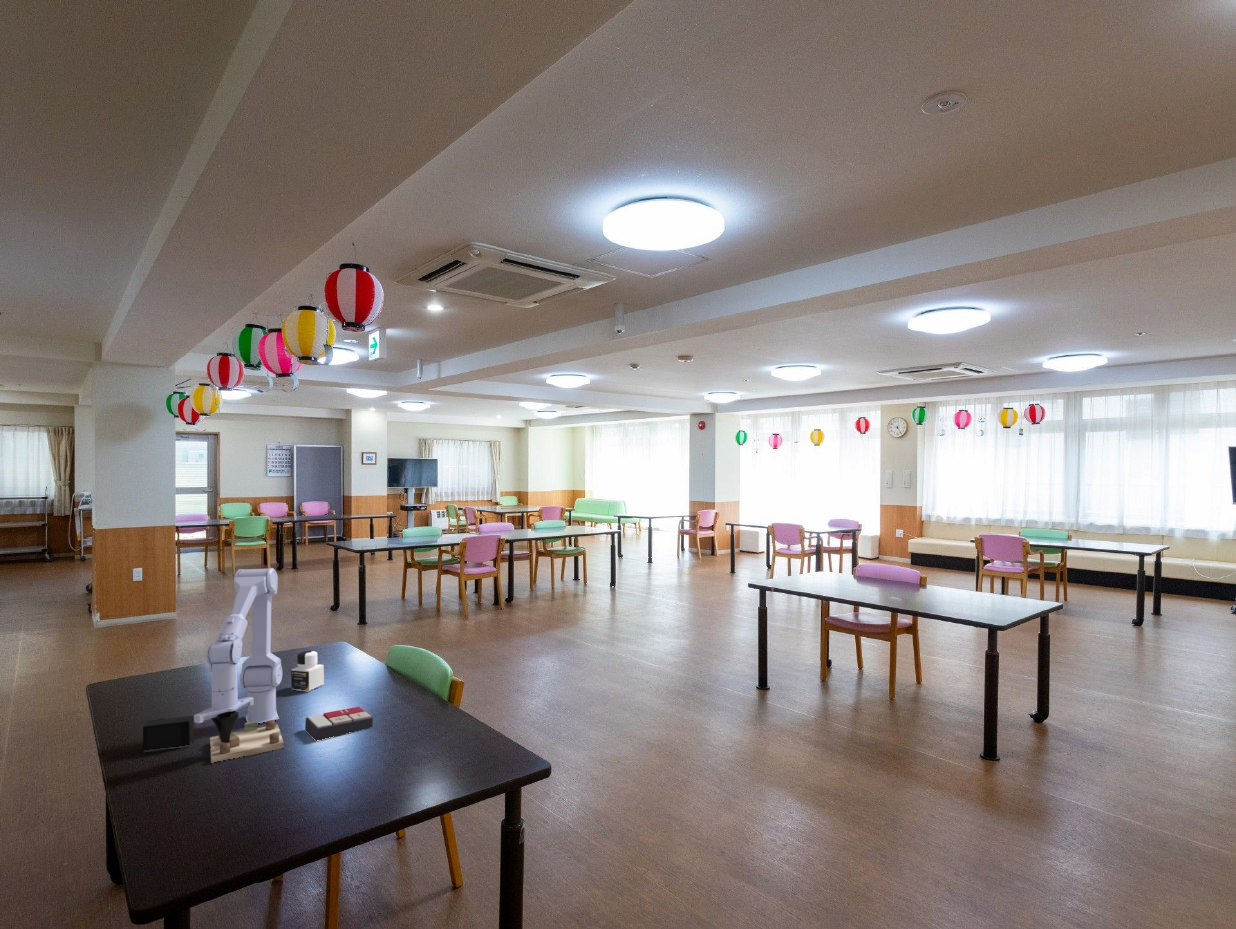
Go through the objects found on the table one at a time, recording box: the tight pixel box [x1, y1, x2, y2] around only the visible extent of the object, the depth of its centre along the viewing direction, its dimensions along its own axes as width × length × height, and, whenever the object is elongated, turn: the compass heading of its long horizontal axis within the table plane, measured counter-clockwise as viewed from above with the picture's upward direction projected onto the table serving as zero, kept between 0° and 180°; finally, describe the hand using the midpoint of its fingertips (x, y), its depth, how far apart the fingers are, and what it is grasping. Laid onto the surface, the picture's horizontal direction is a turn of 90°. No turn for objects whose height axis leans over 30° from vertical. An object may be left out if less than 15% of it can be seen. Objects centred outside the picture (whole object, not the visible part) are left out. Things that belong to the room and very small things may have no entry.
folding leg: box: [218, 731, 239, 748], centre depth 174 cm, size 10×2×2 cm, turn 47°
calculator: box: [304, 706, 374, 742], centre depth 186 cm, size 11×4×15 cm
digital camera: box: [142, 715, 195, 751], centre depth 176 cm, size 10×5×7 cm, turn 109°
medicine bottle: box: [290, 650, 325, 691], centre depth 222 cm, size 7×7×12 cm
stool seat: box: [209, 720, 285, 764], centre depth 175 cm, size 15×16×4 cm
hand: (225, 742), depth 171 cm, fingers closed, pressing on folding leg
